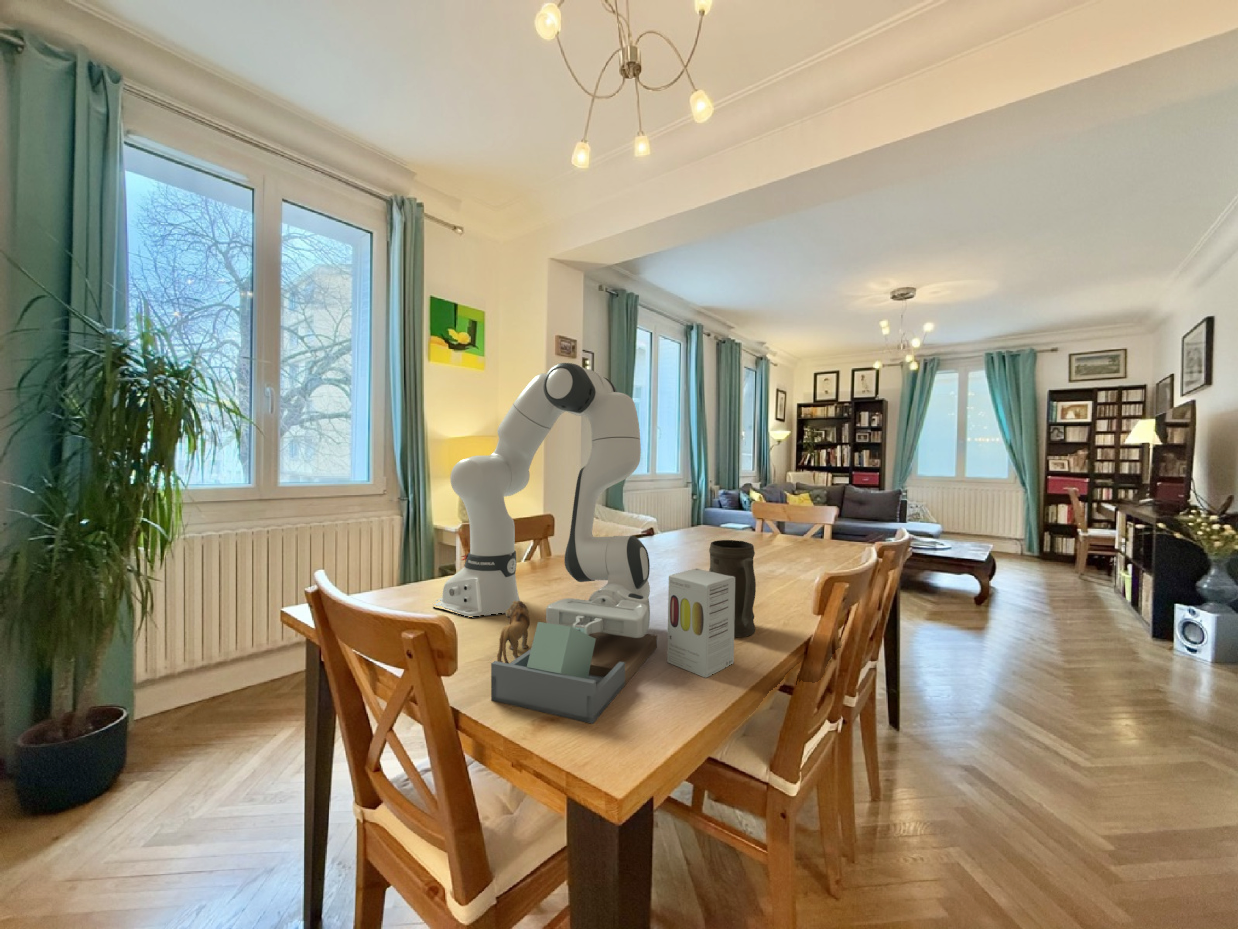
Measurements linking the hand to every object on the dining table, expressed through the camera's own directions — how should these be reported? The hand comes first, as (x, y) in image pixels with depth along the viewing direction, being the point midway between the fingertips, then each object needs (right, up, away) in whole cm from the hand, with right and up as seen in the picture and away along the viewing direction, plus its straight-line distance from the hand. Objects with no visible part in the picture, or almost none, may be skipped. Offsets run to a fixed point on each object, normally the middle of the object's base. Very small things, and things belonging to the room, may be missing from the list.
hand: (579, 630), depth 89 cm
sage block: (0, -4, -1) cm, 4 cm away
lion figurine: (-14, -8, +10) cm, 19 cm away
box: (-3, -8, -6) cm, 11 cm away
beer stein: (+33, -8, +22) cm, 41 cm away
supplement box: (+23, -8, +6) cm, 25 cm away
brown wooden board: (+3, -8, +8) cm, 12 cm away
